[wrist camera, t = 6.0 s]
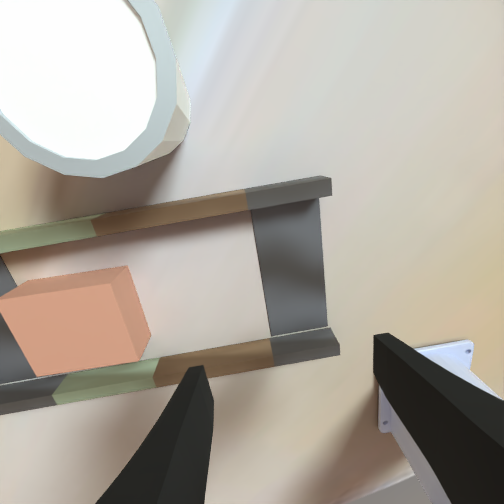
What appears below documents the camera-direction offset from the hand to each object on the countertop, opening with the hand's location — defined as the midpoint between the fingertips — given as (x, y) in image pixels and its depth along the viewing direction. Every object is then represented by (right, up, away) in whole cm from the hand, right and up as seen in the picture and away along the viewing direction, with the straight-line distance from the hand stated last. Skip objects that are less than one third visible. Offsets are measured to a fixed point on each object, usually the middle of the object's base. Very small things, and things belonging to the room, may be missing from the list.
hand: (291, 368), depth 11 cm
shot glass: (-8, +13, +4) cm, 16 cm away
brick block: (-13, +1, +9) cm, 16 cm away
